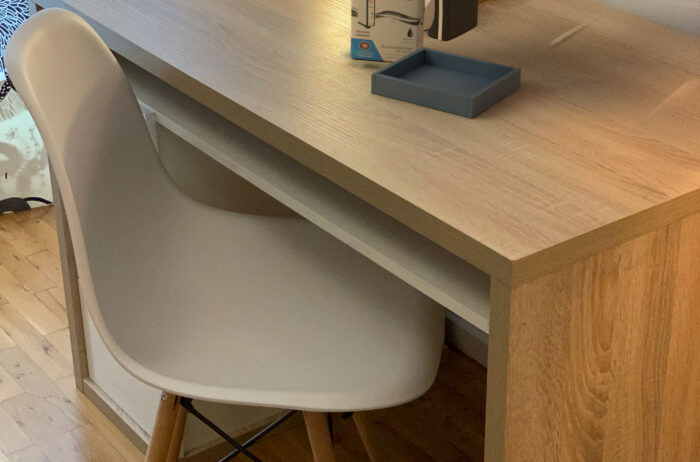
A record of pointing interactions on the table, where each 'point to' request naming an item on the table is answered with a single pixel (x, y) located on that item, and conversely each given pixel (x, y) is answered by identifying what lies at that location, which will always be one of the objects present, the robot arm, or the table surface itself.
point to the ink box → (386, 28)
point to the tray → (446, 81)
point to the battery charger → (453, 18)
